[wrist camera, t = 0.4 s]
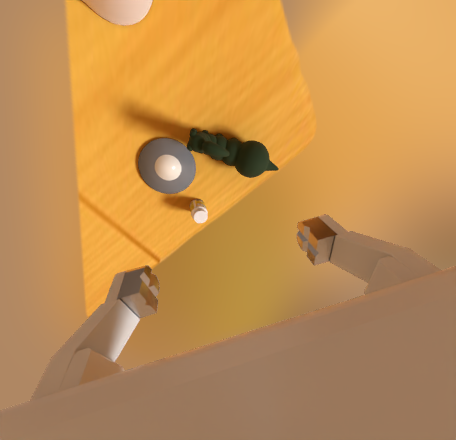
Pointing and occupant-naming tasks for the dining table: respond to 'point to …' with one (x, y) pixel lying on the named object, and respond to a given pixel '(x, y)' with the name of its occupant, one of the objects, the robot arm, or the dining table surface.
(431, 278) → the robot arm
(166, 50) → the dining table surface
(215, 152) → the toy figurine
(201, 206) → the supplement bottle
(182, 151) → the charcoal plate
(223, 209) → the dining table surface
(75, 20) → the dining table surface
